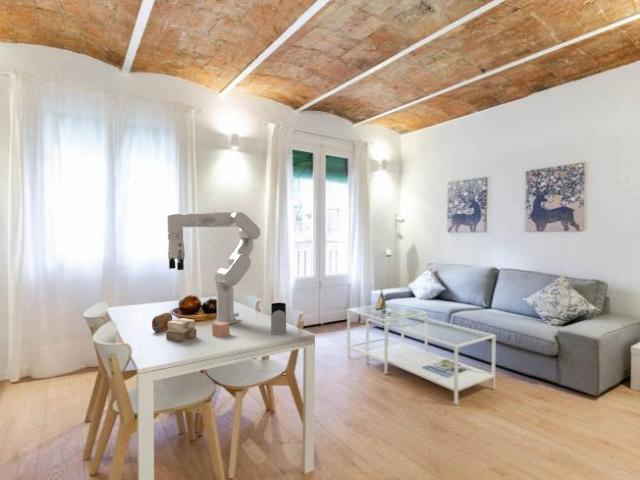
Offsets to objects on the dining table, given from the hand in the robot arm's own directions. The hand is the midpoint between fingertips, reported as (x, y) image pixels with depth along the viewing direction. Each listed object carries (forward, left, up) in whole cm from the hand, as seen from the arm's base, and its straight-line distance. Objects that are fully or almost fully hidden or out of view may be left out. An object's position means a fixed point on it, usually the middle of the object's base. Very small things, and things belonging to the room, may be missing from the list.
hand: (176, 269), depth 201 cm
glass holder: (-25, +48, -33) cm, 64 cm away
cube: (-5, +26, -33) cm, 42 cm away
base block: (+9, +13, -33) cm, 37 cm away
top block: (+9, +13, -29) cm, 33 cm away
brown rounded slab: (+3, -9, -33) cm, 34 cm away
